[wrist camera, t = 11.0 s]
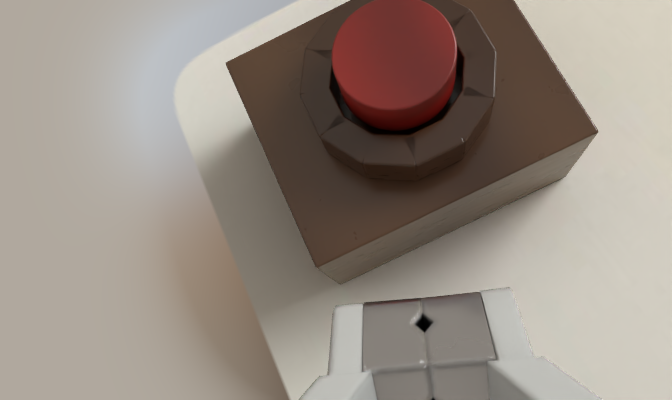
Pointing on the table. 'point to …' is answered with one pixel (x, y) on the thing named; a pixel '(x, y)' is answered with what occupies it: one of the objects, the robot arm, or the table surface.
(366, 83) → the button
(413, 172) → the brown push button box
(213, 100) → the table surface
